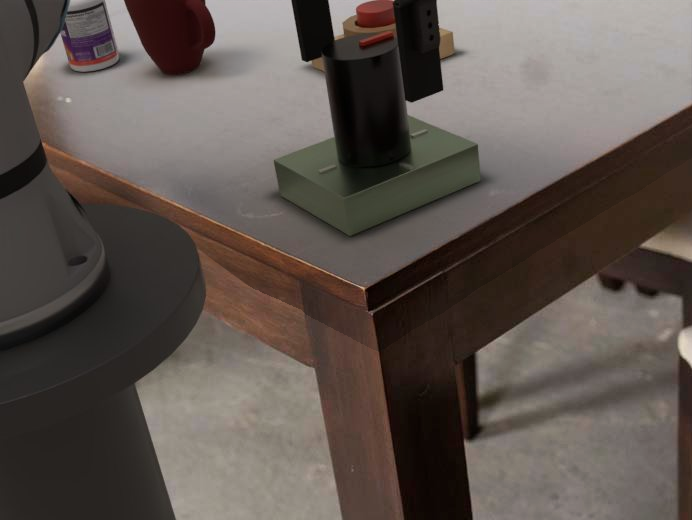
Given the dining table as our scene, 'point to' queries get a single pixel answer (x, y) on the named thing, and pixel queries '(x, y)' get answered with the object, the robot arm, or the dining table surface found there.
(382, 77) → the dial
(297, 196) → the panel
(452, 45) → the button block
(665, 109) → the dining table surface
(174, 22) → the mug
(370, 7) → the button
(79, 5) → the pill bottle
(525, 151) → the dining table surface
